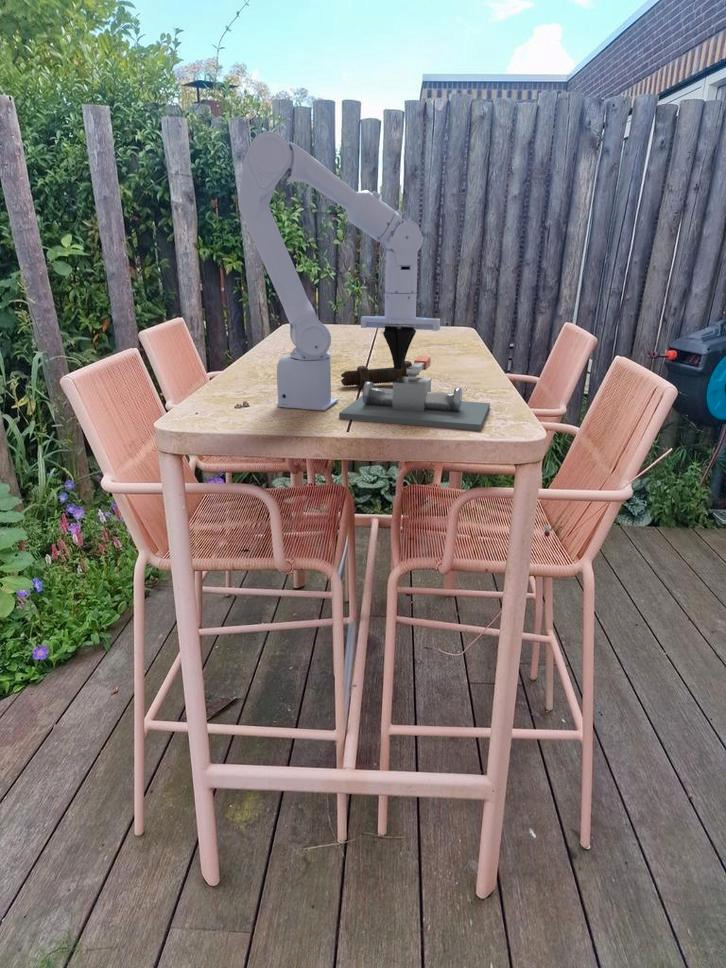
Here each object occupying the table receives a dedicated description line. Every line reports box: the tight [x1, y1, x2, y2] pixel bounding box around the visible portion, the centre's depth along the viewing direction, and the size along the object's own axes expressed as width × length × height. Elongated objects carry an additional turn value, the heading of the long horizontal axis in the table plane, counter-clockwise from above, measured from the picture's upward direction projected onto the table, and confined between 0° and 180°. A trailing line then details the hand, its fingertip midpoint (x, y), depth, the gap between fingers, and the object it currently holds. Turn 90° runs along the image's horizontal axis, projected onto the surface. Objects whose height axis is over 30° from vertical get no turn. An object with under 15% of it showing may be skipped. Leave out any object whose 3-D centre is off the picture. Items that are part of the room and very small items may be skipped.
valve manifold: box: [362, 375, 463, 412], centre depth 104 cm, size 17×6×6 cm, turn 73°
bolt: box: [340, 360, 413, 389], centre depth 126 cm, size 6×5×15 cm
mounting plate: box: [338, 394, 491, 432], centre depth 105 cm, size 24×15×1 cm, turn 73°
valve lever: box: [406, 356, 432, 376], centre depth 107 cm, size 12×2×2 cm, turn 163°
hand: (398, 368), depth 111 cm, fingers closed
